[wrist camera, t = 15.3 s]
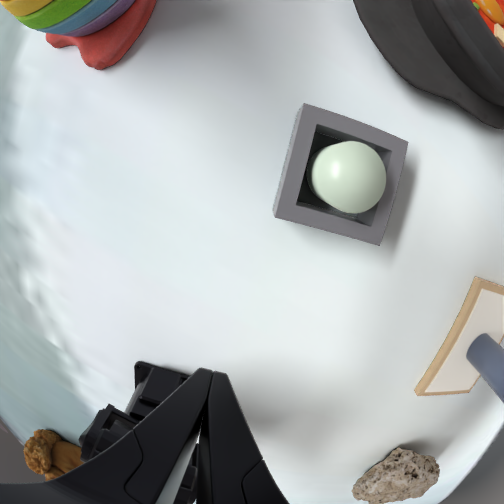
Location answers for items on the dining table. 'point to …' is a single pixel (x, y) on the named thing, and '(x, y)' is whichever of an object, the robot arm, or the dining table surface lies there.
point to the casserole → (444, 48)
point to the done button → (347, 176)
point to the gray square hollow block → (286, 205)
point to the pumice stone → (397, 478)
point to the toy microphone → (488, 362)
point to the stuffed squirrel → (51, 454)
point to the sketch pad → (465, 341)
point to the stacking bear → (86, 24)
